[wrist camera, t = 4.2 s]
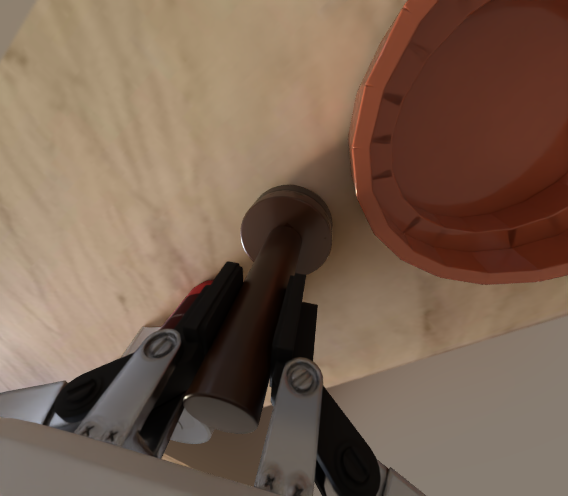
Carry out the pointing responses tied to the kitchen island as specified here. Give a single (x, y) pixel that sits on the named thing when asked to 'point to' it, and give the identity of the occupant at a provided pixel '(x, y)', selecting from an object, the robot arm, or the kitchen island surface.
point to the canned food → (187, 425)
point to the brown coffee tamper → (259, 307)
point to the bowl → (468, 139)
